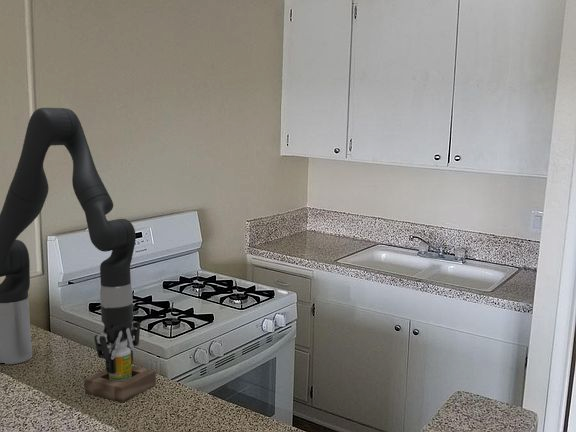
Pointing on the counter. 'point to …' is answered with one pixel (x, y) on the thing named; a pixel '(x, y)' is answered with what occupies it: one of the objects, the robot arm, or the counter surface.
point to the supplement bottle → (122, 363)
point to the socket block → (120, 384)
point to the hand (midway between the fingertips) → (119, 368)
